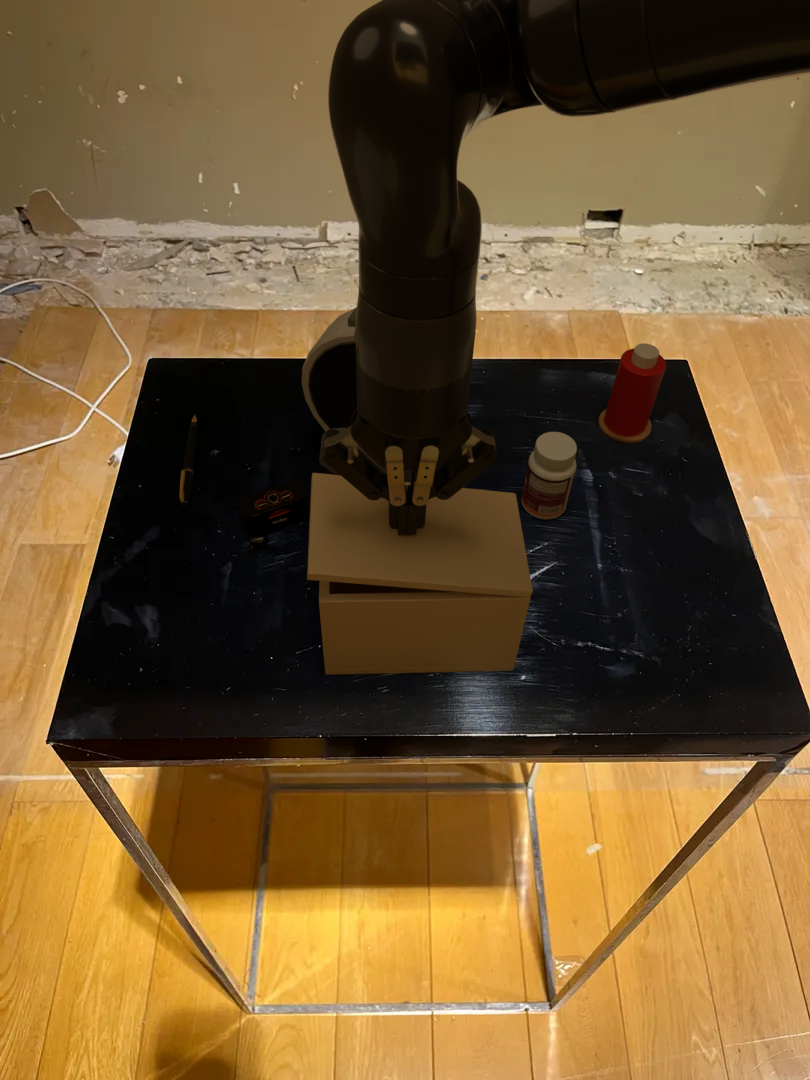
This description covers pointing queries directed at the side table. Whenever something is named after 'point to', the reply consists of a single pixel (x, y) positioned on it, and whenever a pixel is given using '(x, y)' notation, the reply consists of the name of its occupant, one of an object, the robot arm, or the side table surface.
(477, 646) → the box
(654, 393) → the sauce bottle
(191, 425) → the fountain pen
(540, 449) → the pill bottle
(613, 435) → the coaster
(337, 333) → the alarm clock
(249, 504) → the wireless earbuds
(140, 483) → the side table surface
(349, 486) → the breadbox lid
